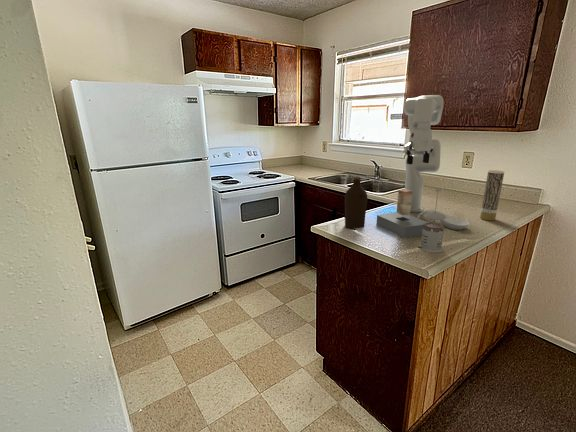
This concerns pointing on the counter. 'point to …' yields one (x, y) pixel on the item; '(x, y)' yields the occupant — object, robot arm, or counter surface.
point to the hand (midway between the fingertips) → (417, 163)
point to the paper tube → (492, 194)
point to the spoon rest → (449, 221)
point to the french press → (431, 238)
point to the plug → (404, 202)
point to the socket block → (401, 224)
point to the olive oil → (355, 205)
